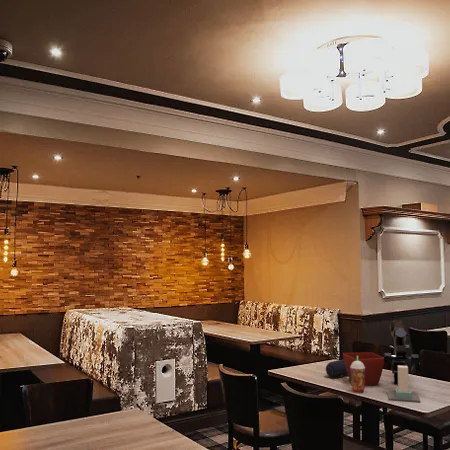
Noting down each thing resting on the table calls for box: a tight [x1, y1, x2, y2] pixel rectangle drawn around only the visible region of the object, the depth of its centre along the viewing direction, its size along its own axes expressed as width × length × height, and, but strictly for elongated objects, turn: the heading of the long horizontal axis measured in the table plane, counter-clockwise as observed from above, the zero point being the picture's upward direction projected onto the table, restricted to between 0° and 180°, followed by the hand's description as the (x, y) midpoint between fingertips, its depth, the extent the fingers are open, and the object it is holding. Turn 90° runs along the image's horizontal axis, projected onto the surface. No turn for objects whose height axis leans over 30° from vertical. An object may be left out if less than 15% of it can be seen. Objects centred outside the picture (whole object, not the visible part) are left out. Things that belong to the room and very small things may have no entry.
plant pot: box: [342, 351, 385, 387], centre depth 300 cm, size 19×19×17 cm
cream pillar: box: [397, 365, 410, 392], centre depth 267 cm, size 5×5×13 cm
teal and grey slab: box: [387, 388, 421, 404], centre depth 268 cm, size 16×14×4 cm
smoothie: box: [350, 356, 365, 394], centre depth 282 cm, size 8×8×20 cm
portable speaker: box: [325, 358, 348, 379], centre depth 320 cm, size 25×10×10 cm, turn 131°
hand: (402, 371), depth 274 cm, fingers open, 9 cm apart
